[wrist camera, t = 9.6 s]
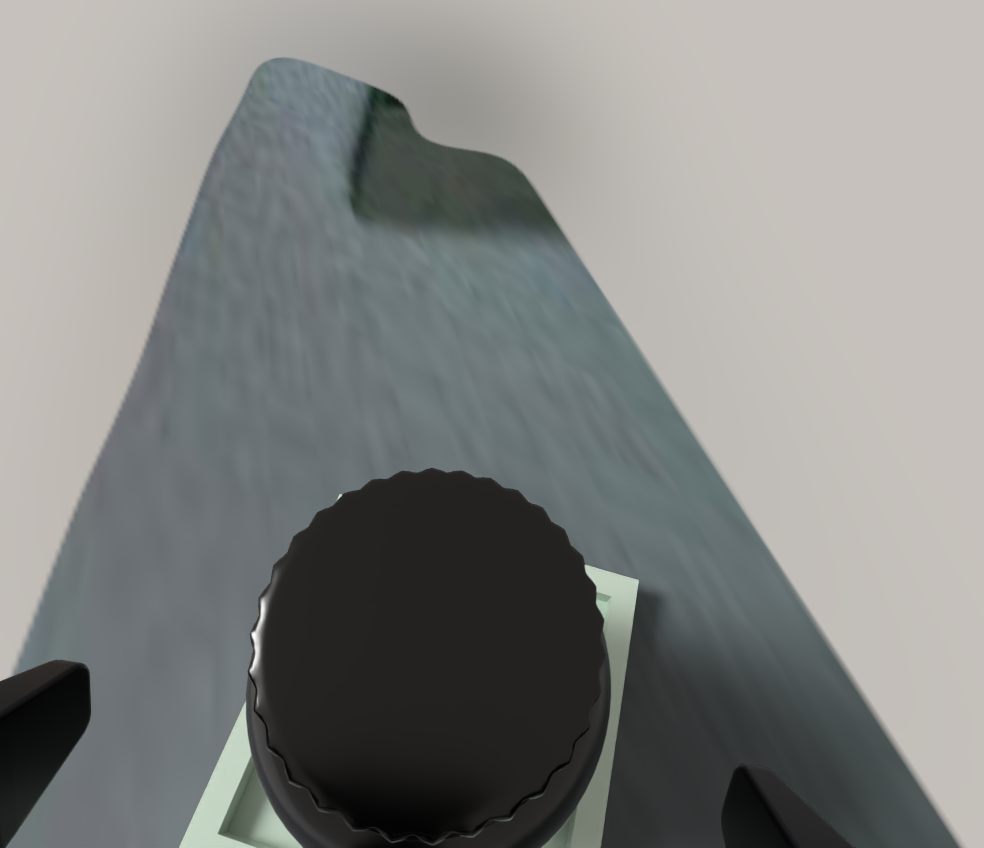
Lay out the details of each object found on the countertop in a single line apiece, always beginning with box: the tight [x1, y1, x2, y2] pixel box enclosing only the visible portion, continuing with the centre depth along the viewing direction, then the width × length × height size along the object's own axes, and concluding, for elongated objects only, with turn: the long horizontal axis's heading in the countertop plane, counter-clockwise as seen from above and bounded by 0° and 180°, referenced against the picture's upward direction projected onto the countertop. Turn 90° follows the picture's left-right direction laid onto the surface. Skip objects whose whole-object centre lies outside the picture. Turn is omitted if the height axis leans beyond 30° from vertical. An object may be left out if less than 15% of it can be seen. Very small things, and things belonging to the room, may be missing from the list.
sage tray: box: [179, 494, 639, 848], centre depth 18 cm, size 11×11×1 cm
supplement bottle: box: [246, 468, 611, 848], centre depth 13 cm, size 7×7×12 cm
